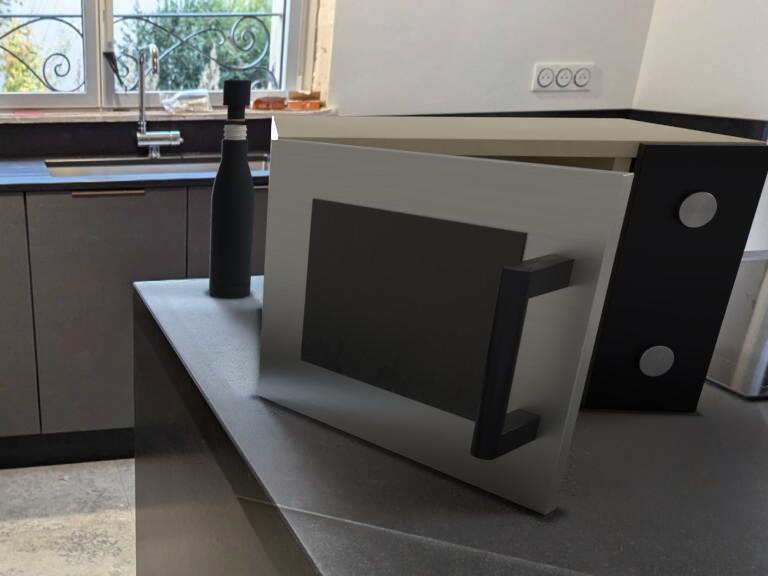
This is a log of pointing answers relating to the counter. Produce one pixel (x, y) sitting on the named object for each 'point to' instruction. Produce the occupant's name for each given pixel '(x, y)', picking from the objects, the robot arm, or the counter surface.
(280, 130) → the microwave
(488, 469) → the microwave door
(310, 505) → the counter surface
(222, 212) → the black screw-cap bottle
